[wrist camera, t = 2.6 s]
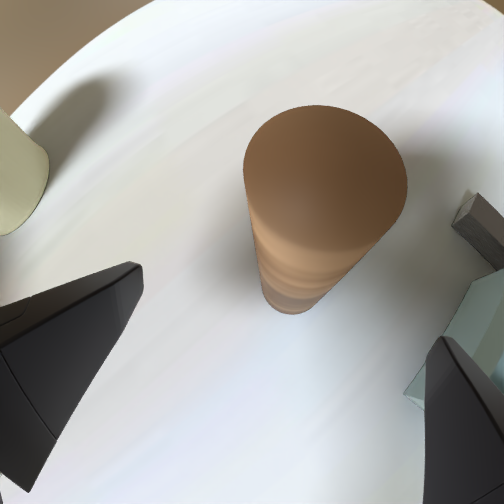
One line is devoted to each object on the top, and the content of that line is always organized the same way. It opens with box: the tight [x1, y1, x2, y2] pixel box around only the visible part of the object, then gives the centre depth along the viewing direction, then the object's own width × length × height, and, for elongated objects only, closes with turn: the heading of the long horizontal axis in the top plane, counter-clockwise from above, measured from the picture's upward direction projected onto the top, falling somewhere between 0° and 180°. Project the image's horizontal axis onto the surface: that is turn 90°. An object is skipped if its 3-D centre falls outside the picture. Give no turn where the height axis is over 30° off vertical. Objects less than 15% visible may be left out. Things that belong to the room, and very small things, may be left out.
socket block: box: [403, 268, 504, 411], centre depth 14 cm, size 9×9×5 cm
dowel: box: [243, 105, 407, 315], centre depth 13 cm, size 4×4×13 cm
